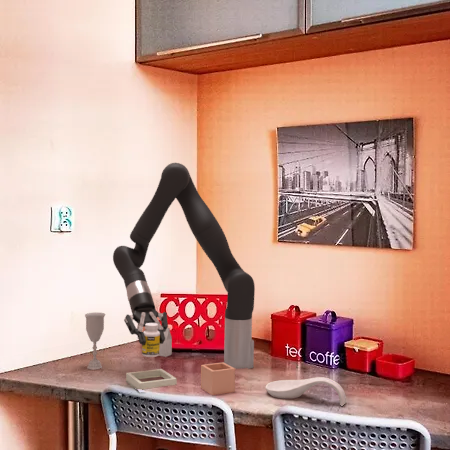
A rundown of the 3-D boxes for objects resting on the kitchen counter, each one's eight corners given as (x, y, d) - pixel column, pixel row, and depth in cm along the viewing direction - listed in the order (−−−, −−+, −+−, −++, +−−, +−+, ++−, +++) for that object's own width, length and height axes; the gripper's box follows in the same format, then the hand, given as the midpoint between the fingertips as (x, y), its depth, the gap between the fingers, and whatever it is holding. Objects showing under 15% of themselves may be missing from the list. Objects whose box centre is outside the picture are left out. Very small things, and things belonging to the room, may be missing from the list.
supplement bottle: (145, 358, 206) (146, 326, 205) (139, 354, 211) (140, 322, 210) (162, 356, 209) (162, 325, 208) (155, 352, 213) (156, 321, 213)
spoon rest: (260, 401, 197) (260, 377, 197) (271, 389, 208) (271, 366, 208) (341, 412, 189) (342, 386, 189) (348, 399, 200) (349, 375, 200)
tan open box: (222, 387, 208) (223, 362, 208) (234, 395, 202) (235, 368, 201) (200, 391, 205) (201, 365, 204) (212, 398, 198) (212, 371, 198)
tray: (161, 377, 218) (161, 368, 218) (176, 387, 208) (176, 378, 208) (126, 381, 213) (126, 373, 213) (139, 392, 202) (139, 383, 202)
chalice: (100, 371, 224) (100, 317, 223) (80, 369, 226) (81, 316, 224) (108, 365, 231) (108, 313, 230) (89, 363, 233) (89, 311, 232)
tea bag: (166, 356, 244) (166, 329, 243) (150, 354, 247) (150, 327, 247) (171, 354, 247) (171, 327, 247) (156, 352, 251) (156, 325, 250)
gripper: (121, 292, 212) (134, 338, 202) (164, 290, 218) (178, 334, 209) (115, 306, 217) (128, 352, 207) (157, 303, 223) (171, 347, 214)
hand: (153, 343), depth 208 cm, fingers closed on supplement bottle, 5 cm apart
